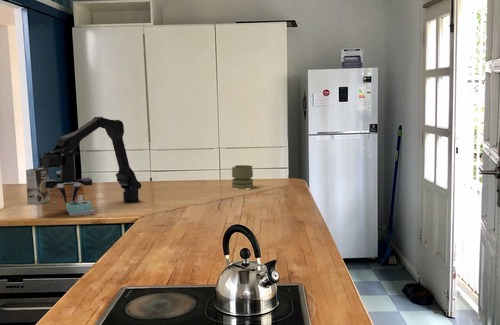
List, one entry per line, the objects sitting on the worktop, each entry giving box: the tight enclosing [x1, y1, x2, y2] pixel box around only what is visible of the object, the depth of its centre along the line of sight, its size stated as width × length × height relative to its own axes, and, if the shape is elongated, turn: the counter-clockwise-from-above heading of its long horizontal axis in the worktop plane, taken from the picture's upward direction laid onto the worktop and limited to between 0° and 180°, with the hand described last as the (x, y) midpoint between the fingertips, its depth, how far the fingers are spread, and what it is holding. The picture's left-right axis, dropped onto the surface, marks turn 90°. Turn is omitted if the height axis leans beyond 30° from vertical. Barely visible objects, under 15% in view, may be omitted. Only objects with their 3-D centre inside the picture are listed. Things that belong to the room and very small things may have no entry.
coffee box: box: [25, 167, 51, 205], centre depth 247 cm, size 9×6×16 cm
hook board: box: [65, 194, 96, 217], centre depth 223 cm, size 10×15×8 cm, turn 25°
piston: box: [231, 164, 254, 189], centre depth 284 cm, size 11×12×11 cm
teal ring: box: [65, 200, 93, 212], centre depth 223 cm, size 10×10×2 cm
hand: (69, 202), depth 222 cm, fingers closed
